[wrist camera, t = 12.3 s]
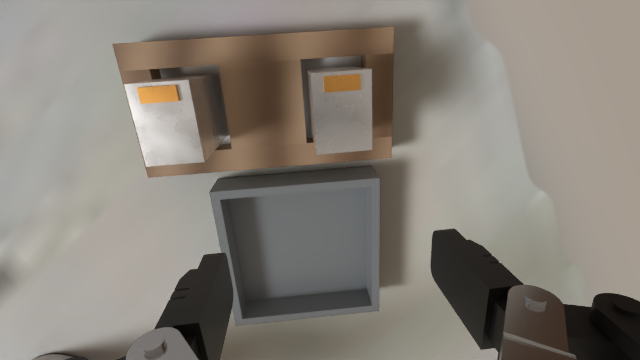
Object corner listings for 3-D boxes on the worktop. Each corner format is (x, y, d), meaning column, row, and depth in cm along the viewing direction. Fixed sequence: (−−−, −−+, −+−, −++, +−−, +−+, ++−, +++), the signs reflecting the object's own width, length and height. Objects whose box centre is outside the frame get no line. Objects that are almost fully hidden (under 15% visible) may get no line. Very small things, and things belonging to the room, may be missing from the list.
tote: (240, 302, 38) (235, 325, 35) (217, 178, 32) (209, 192, 29) (371, 289, 39) (379, 310, 36) (371, 166, 33) (379, 178, 30)
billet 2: (311, 130, 30) (317, 155, 23) (306, 69, 28) (310, 73, 21) (353, 127, 31) (373, 150, 23) (351, 65, 29) (372, 69, 21)
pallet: (161, 166, 32) (148, 177, 29) (130, 45, 28) (112, 43, 25) (383, 149, 33) (391, 157, 30) (384, 29, 29) (394, 26, 26)
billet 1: (183, 139, 30) (144, 167, 22) (169, 77, 28) (122, 84, 20) (226, 136, 30) (203, 162, 22) (216, 74, 28) (187, 80, 20)
